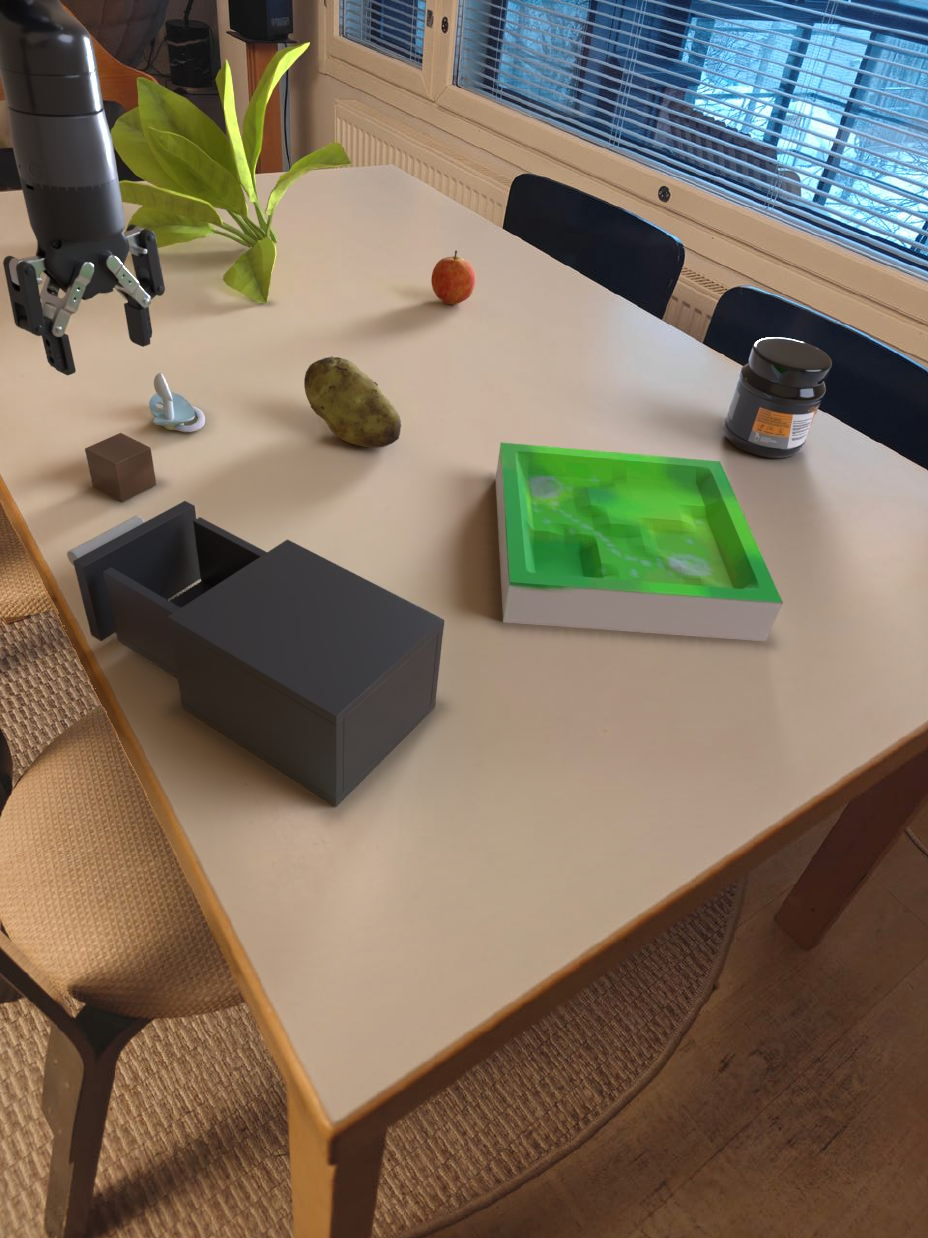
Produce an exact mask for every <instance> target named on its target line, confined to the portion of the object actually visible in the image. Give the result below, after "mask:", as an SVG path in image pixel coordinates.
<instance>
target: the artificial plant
mask: <svg viewBox="0 0 928 1238" xmlns="http://www.w3.org/2000/svg"><path fill="white" fill-rule="evenodd" d="M310 43H311V42H304V43H301V44H298V45H295V46H287V47H284V48H283V49H280V50H278V51H276V53H275V54H274V55H273V56H272V58H271V59H270V61H269V62H268V63H267V65H266V68H265V69H264V72H263V73H262V75H261V78H260V80H259V82H258V84H257V86H256V87H255V90H254V92H253V94H252V96H251V98H250V99H249V102H248V105H247V108H246V111H245V113H244V117H243V120H242V124H241V131H240V128H239V124H238V117H237V113H236V105H235V95H234V86H233V79H232V78H233V77H232V71H231V67H230V65H229V61H228V60H227V59H225V60H224V62H223V65H222V67H221V68H220V69H219V70H218V72H217V74H216V77H215V80H214V81H215V83H216V87H217V91H218V94H219V98H220V103H221V107H222V111H223V113H224V119H225V120H224V122H225V126H226V132H227V135H228V137H227V135H226V134H225V133H224V131H223V130H222V129H221V128H220V126H218V125H217V123H216V122H215V121H214V120H213V119H212V118H210V116H208V115H207V114H206V113H204V112H203V111H202V110H201V109H199V108H198V107H197V106H196V105H195V104H194V103H192V102H191V101H190V100H189V99H188V98H187V97H184V96H182V95H180V94H178V93H176V92H174V91H173V90H171V89H170V88H169V89H168V88H166V87H165V86H163V85H161V84H159V83H157V82H155V81H153V80H150V79H148V78H145V77H141V76H138V77H136V88H137V94H138V95H137V104H138V105H137V106H136V107H133V108H131V110H129V111H127V112H124V113H123V114H122V115H121V116H119V117H118V118H117V119H116V121H115V123H114V125H113V127H112V128H111V129H110V133H111V137H112V142H113V147H114V150H115V151H116V152H117V154H118V155H119V157H120V159H121V160H122V162H123V163H124V164H125V165H126V167H127V168H129V170H130V171H131V172H133V174H134V175H135V176H136V177H137V178H140V179H142V180H143V181H145V182H147V183H143V182H137V181H133V180H127V179H124V180H120V181H119V186H120V192H121V199H122V203H126V204H130V205H131V204H132V205H137V206H140V207H139V208H138V209H137V210H136V211H135V212H134V213H133V214H132V216H131V219H130V220H129V222H128V224H127V226H126V229H125V231H124V232H127V228H128V226H129V225H131V224H134V225H136V226H139V227H142V228H144V229H147V230H150V231H152V232H154V234H155V237H156V242H157V248H158V249H160V248H165V247H168V246H172V245H175V244H181V243H188V242H190V241H194V240H196V239H201V238H206V237H208V236H210V235H213V234H216V235H220V236H223V237H226V238H229V239H231V240H233V241H234V242H237V243H238V244H240V245H242V246H245V247H247V248H249V249H248V250H246V251H245V252H244V253H243V254H241V255H240V256H239V257H238V258H237V259H236V260H235V261H234V263H233V264H232V265H231V266H230V267H229V268H228V269H227V271H225V273H224V274H223V277H222V280H223V282H224V284H225V285H226V286H228V287H229V288H231V289H233V290H235V291H237V292H239V293H241V294H243V295H244V296H245V297H247V298H249V299H251V300H253V301H255V302H258V303H260V304H265V305H266V304H267V303H268V300H269V295H270V288H271V284H272V283H271V282H272V273H273V271H274V266H275V262H276V260H277V259H276V258H277V247H276V244H277V243H278V241H279V237H278V235H277V233H276V231H275V229H273V227H272V221H273V216H274V213H275V211H276V208H277V206H278V204H279V202H280V201H281V199H282V198H283V196H284V195H285V193H286V192H287V190H288V189H289V188H290V187H291V186H292V185H293V184H294V183H295V182H296V181H297V180H298V179H300V178H301V177H303V176H304V175H306V174H308V173H310V172H311V171H315V170H317V169H325V168H341V167H350V166H351V165H352V161H351V160H350V157H349V155H348V154H347V152H346V150H345V148H344V147H343V146H342V144H341V143H340V142H339V141H333V142H330V143H328V144H326V145H325V146H323V147H320V148H319V149H316V150H315V151H313V152H310V153H309V154H307V155H305V156H303V157H301V158H300V159H299V160H297V161H296V162H295V163H293V164H292V166H291V167H290V169H289V170H288V171H287V172H284V173H283V174H282V175H281V174H280V175H279V178H278V179H277V182H276V184H275V186H274V187H273V189H272V190H271V192H270V194H269V197H268V199H267V204H266V207H265V209H264V212H263V210H262V208H261V206H260V201H259V196H258V188H257V181H256V169H257V163H258V160H259V158H260V154H261V152H262V148H263V136H264V124H265V114H266V109H267V105H268V102H269V100H270V98H271V95H272V94H273V91H274V89H275V87H276V86H277V84H278V83H279V81H280V79H281V78H282V76H283V75H284V74H285V73H286V72H287V71H288V69H290V67H291V66H292V65H293V64H294V63H295V62H296V60H298V58H299V57H300V56H302V54H304V52H305V51H306V50H307V49H308V48H309V46H310ZM228 139H229V140H228ZM148 183H149V184H148ZM244 192H245V193H244ZM245 194H246V196H247V198H248V201H249V202H250V203H253V206H254V209H255V213H256V218H257V220H258V225H257V223H255V222H254V221H253V220H252V219H251V218H250V217H249V210H248V209H249V207H248V203H247V200H246V196H245ZM217 209H220V210H225V211H226V212H227V213H228V214H229V215H230V216H231V217H232V219H233V220H234V221H235V223H236V224H237V225H238V226H239V228H240V230H239V229H238V228H235V227H234V226H232V225H230V224H228V223H226V222H224V221H223V218H222V216H221V215H220V214H219V212H218V210H217ZM264 214H265V215H267V219H266V217H265V215H264ZM213 225H214V226H216V227H218V228H220V229H223V230H225V231H227V232H224V231H221V230H219V229H215V227H214V226H213ZM228 232H229V233H228Z"/></svg>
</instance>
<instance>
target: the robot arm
mask: <svg viewBox="0 0 928 1238" xmlns="http://www.w3.org/2000/svg"><path fill="white" fill-rule="evenodd" d="M93 43H94V42H93V40H92V37H91V35H90V33H89V31H88V29H87V28H86V26H84V25H83V23H81V22H80V21H79V20H78V19H76V18H75V17H74V16H72V15H71V14H70V13H68V11H67V10H66V9H65V8H64V6H63V5H62V3H61V1H60V0H0V80H1V85H2V89H3V92H4V93H3V94H4V97H5V103H6V107H7V114H8V122H9V133H10V140H11V146H12V149H13V155H14V159H15V164H16V169H17V172H18V176H19V177H18V178H19V180H20V186H21V189H22V190H21V191H22V194H23V199H24V204H25V208H26V213H27V217H28V221H29V225H30V228H31V230H32V232H33V234H34V237H35V239H36V242H37V243H36V244H37V246H36V247H37V248H36V253H35V255H33V256H28V257H22V258H19V257H16V256H12V255H6V256H5V257H4V258H3V262H2V265H3V271H4V275H5V281H6V285H7V290H8V296H9V300H10V306H11V311H12V316H13V320H14V321H13V322H14V324H15V326H16V327H17V328H19V329H20V330H21V329H22V330H24V331H27V332H28V333H31V334H32V335H34V336H37V337H41V339H42V343H43V347H44V348H43V349H44V351H45V355H46V361H47V363H48V364H49V366H50V367H52V368H54V369H55V370H56V371H57V372H60V373H61V374H63V375H66V376H70V375H73V374H75V373H76V371H77V370H76V364H75V361H74V356H73V351H72V345H71V342H70V337H69V334H66V333H65V332H66V330H67V327H68V325H69V322H70V319H71V317H72V315H74V314H76V313H77V312H78V310H79V307H80V304H81V302H82V300H83V301H88V300H90V299H93V298H94V297H96V296H97V295H99V294H109V293H110V294H111V293H113V292H114V290H115V291H116V292H117V293H118V294H119V295H120V296H121V297H122V298H123V299H124V300H126V301H127V302H125V303H123V308H124V313H125V319H126V320H125V321H126V325H127V332H128V338H129V340H130V341H131V343H133V344H135V345H137V346H140V347H142V348H144V347H148V346H149V345H151V338H152V336H153V326H152V319H151V314H150V306H151V304H152V300H153V299H154V298H155V297H156V296H157V297H158V296H159V297H161V296H163V295H164V294H165V292H166V286H165V280H164V275H163V270H162V264H161V258H160V253H159V248H157V242H156V237H155V234H154V232H152V231H150V230H147V229H144V228H142V227H139V226H136V225H134V224H131V225H129V226H128V225H127V226H128V228H127V227H126V219H125V213H124V206H123V202H122V199H121V192H120V186H119V182H120V181H119V174H118V168H117V161H116V154H115V148H114V144H113V141H112V137H111V129H110V127H109V124H108V123H109V122H108V120H107V116H106V112H105V106H104V100H103V93H102V87H101V81H100V76H99V70H98V61H97V57H96V56H97V55H96V52H95V51H96V50H95V47H94V44H93ZM125 227H126V229H127V232H125V231H124V230H125ZM129 253H130V256H131V260H132V265H133V270H134V275H135V277H134V275H133V274H132V273H131V272H130V271H129V270H128V269H127V268H126V267H125V263H126V260H127V258H128V255H129ZM42 273H43V274H45V275H46V277H45V278H44V279H45V280H44V282H43V280H42V278H41V276H42ZM42 284H43V285H42ZM40 285H42V288H41V291H40V288H39V286H40ZM60 290H61V291H62V292H63V293H64V294H65V295H64V296H63V297H60V296H59V293H60Z"/></svg>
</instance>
